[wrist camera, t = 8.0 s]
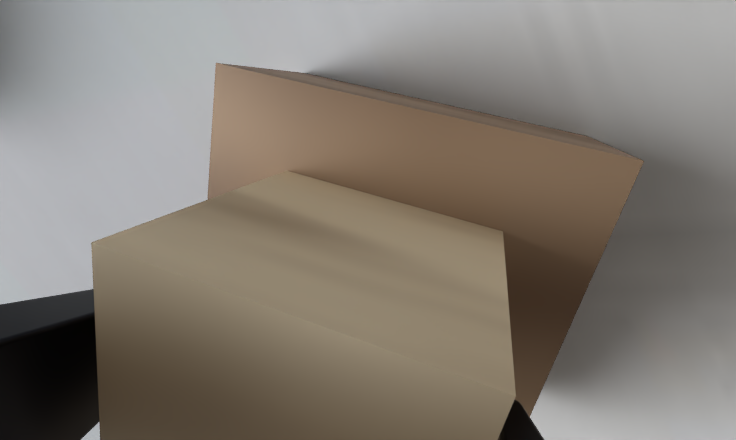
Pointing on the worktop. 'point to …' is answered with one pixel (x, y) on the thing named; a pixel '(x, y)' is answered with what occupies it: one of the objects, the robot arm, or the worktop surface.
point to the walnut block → (439, 182)
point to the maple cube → (302, 320)
